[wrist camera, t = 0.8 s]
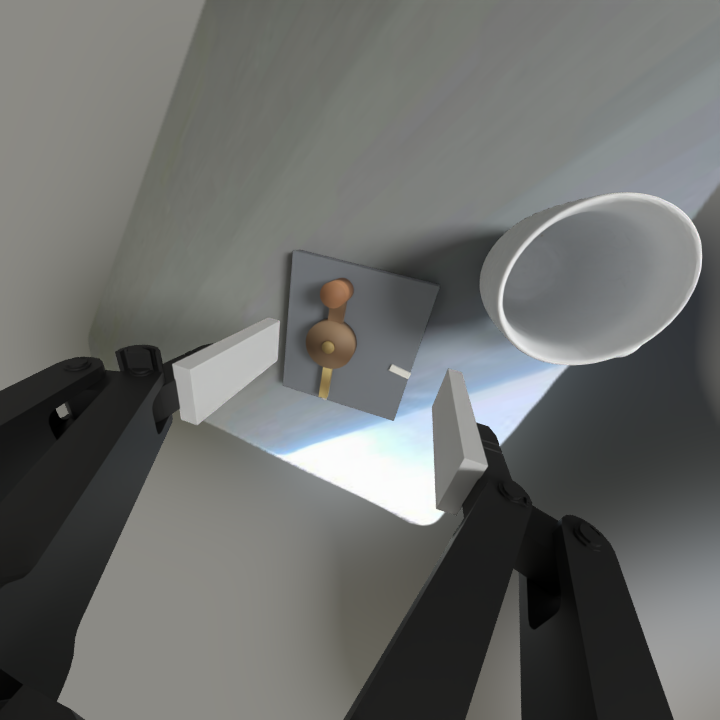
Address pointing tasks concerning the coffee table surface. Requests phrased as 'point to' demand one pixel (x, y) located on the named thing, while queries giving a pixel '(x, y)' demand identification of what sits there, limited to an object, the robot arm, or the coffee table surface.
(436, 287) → the board
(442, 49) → the coffee table surface
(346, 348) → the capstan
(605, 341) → the mug
